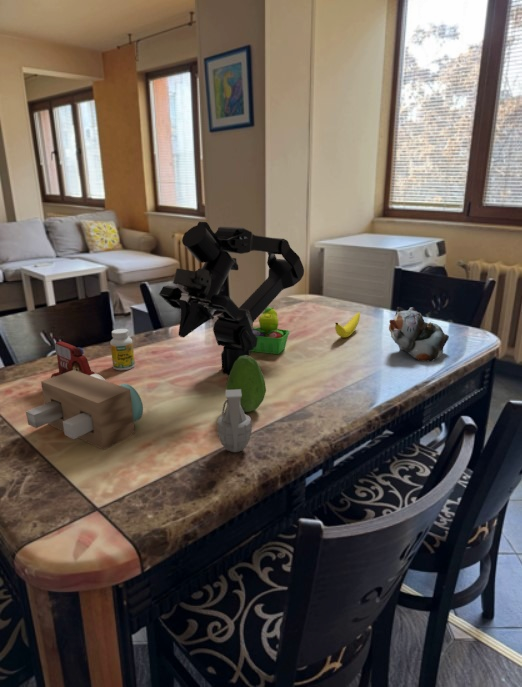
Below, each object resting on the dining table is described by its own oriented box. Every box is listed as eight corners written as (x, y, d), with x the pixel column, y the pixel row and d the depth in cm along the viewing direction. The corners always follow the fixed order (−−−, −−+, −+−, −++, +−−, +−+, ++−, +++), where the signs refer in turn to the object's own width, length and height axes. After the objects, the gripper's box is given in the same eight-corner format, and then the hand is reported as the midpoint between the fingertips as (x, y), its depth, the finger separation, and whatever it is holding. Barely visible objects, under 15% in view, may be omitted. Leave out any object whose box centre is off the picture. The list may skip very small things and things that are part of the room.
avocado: (252, 422, 96) (251, 364, 92) (219, 413, 100) (217, 357, 96) (273, 406, 102) (272, 352, 99) (241, 398, 106) (240, 346, 103)
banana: (363, 328, 155) (364, 308, 153) (340, 345, 140) (341, 323, 138) (354, 326, 156) (355, 307, 154) (330, 343, 141) (331, 322, 139)
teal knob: (118, 415, 99) (114, 379, 96) (144, 425, 94) (141, 388, 92) (58, 443, 88) (52, 404, 86) (84, 456, 84) (78, 415, 82)
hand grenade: (218, 442, 89) (215, 386, 85) (250, 440, 89) (249, 384, 86) (218, 461, 83) (215, 402, 79) (253, 460, 83) (252, 400, 80)
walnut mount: (90, 406, 104) (84, 365, 101) (145, 427, 94) (141, 384, 92) (22, 434, 92) (14, 390, 90) (78, 463, 83) (71, 414, 80)
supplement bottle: (130, 361, 129) (127, 326, 126) (138, 368, 124) (134, 331, 121) (110, 366, 126) (106, 330, 123) (117, 372, 122) (112, 335, 119)
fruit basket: (241, 351, 135) (240, 311, 132) (254, 342, 143) (253, 304, 139) (281, 356, 131) (281, 315, 127) (291, 346, 139) (292, 307, 135)
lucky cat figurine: (435, 365, 123) (412, 318, 120) (395, 372, 132) (372, 328, 129) (456, 335, 132) (435, 290, 129) (417, 342, 141) (396, 301, 138)
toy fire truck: (77, 401, 106) (70, 356, 103) (48, 387, 114) (41, 344, 111) (105, 391, 111) (99, 347, 108) (76, 378, 119) (70, 336, 116)
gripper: (161, 249, 107) (127, 309, 103) (229, 257, 97) (194, 325, 93) (188, 278, 116) (157, 335, 112) (253, 288, 106) (222, 352, 101)
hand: (180, 336), depth 104 cm, fingers closed
